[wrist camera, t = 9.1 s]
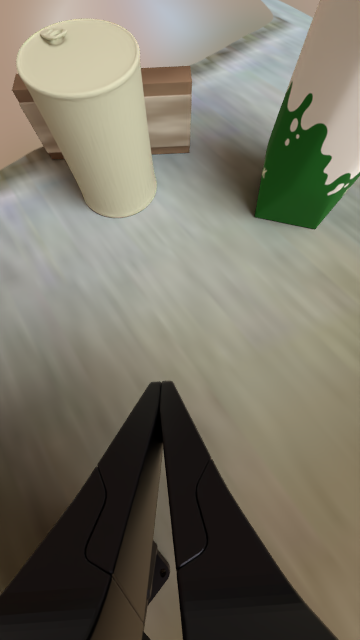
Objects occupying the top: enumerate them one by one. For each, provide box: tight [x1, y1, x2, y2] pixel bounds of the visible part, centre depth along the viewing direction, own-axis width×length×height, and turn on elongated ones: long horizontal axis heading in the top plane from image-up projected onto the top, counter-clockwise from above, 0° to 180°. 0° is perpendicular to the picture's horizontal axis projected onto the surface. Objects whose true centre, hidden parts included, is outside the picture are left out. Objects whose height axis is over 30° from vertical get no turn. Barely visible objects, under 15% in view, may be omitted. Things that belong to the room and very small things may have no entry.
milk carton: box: [255, 0, 360, 229], centre depth 17 cm, size 9×9×20 cm
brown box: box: [12, 66, 192, 159], centre depth 25 cm, size 3×18×7 cm, turn 94°
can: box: [16, 19, 157, 218], centre depth 21 cm, size 9×9×12 cm
